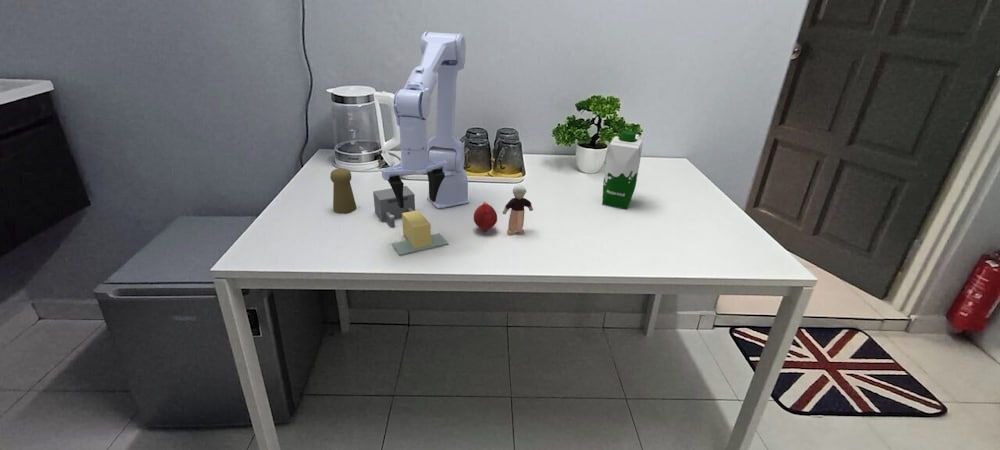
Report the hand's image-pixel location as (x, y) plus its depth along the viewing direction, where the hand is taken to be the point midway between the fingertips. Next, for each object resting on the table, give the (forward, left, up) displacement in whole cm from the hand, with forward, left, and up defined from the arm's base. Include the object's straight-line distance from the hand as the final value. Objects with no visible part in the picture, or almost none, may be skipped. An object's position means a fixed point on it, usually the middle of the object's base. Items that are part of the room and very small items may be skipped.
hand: (416, 203), depth 112 cm
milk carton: (-59, +3, -10) cm, 60 cm away
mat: (0, +2, -10) cm, 10 cm away
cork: (+11, -25, -10) cm, 29 cm away
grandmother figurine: (-24, +6, -10) cm, 26 cm away
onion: (-17, +2, -10) cm, 20 cm away
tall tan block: (0, 0, -9) cm, 9 cm away
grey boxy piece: (0, -15, -10) cm, 18 cm away
